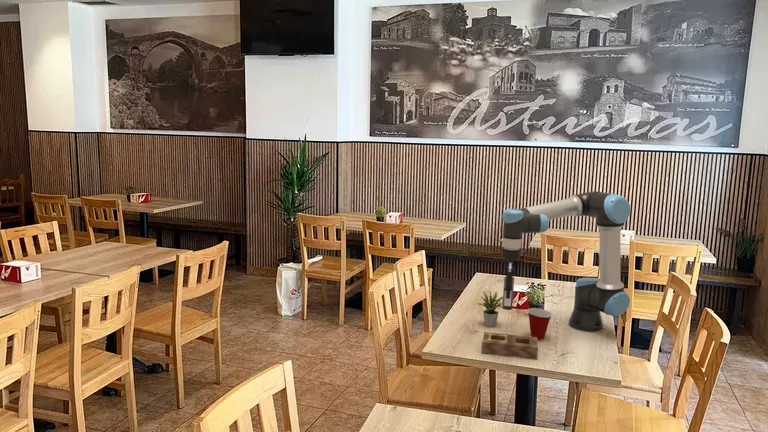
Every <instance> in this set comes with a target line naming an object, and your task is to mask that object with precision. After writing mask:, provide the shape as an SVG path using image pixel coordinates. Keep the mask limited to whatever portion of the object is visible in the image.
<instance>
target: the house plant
mask: <svg viewBox="0 0 768 432" xmlns="http://www.w3.org/2000/svg"><path fill="white" fill-rule="evenodd" d="M498 294H499V292H497V291H495V292H494V295H493V296H492V293H491V291H489V295H488V294H486V292H485V291H483V295H484V297H483V296H482V295H480V297H481V299H482V300H483V301H484V302H483V303H478V304H477V305H480V306H483V307H485V310H483V311H482V314H483V315H482V316H483V323H484V326H485V327H488V328H493V327H496V326H497V321H498V315H499V311H497V310H499V309H500V308H501V309H503V308H502V302H501V300H503V295H502V296H501V297H499V298H498V299H497V297H498ZM499 302H500V303H499Z"/></svg>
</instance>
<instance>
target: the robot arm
mask: <svg viewBox="0 0 768 432" xmlns="http://www.w3.org/2000/svg"><path fill="white" fill-rule="evenodd" d="M501 216H502V219H501V220H502V222H503V224H502V225H503V226H502V229H503V230H502V239H500V242H502V243H501V254H500V256H501V257H502V258H503V259H507V260H505V264H504V267H505V271H504V273H505V274H506V275H505V276H506V288H505V289H504V288H503V289H504V290H505V297H504V306H511V295H512V278H513V277H514V276H513V275H514V274H515V268H516V262H515V261H514V260H519V259H520V258H521V251H522V250H521V249H522V240H523V238H522V237H523V234H540V233H545V232H547V230H548V229H549V226H550V225H549V224H550V221H552V220H556V219H561V218H567V217H571V216H573V217H576V218H577V217H581V216H582V217H591V218H594V219H595V226H596V227H597V228H598V229H599V233H598V234H599V236H598V237H599V239H598V240H599V277H598V278H597V277H581V278H578V279H576V281H575V282H576V283H575V288H574V306H573V310H572V312H571V315H570V317H569V319H568V326H569V327H570V328H572V329H575V330H578V331H582V332H589V333H590V332H591V333H593V332H600V331H602V330H603V327H604V322H603V318H602V315H601V313H604V314H605V315H608V316H610V317H619V316H620V317H621V316H622V315H623V314H624V313H626V312H627V310H628V308H629V307H630V303H631V299H630V295H628V293H627V292H626V291H625V285H624V283H623V282H622V281H621V233H622V232H621V229H622V228H623V227H624V226H625V223H626V222H627V221H628V219H629V217H630V216H631V205H630V202H629V201H628V199H626V197H624V196H622V195H619V194H616V193H609V192H608V193H607V192H602V191H588V192H582V193H578V194H574V195H571V196H569V197H568V198H565V199H560V200H555V201H551V202H546V203H541V204H536V205H531V206H527V207H521V208H506V209H505V210H504V211H503V213H502V215H501Z"/></svg>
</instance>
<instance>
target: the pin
mask: <svg viewBox="0 0 768 432" xmlns="http://www.w3.org/2000/svg"><path fill="white" fill-rule="evenodd" d="M514 287H515V277H514V276H513V278H512V295H511V306H504V297H505V290H504V289H505V288H506V275H505V276H504V277H503V290H502V291H503V292H502V296H503V298H502V302H501V307H502V308H501V309H503V310H504V311H505V310H506V311H511V310H513V301H514Z"/></svg>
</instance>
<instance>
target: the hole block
mask: <svg viewBox="0 0 768 432" xmlns="http://www.w3.org/2000/svg"><path fill="white" fill-rule="evenodd" d="M538 343H539V342H538V339H537V337H531V336H525V335H518V334H508V333H499V332H489V331H484V332H483V336H482V341H481V354H483V355H484V354H485V355H492V356H493V355H494V356H501V357H502V356H503V357H510V358H518V359H519V358H520V359H528V360H538V353H539V350H538V349H539V344H538Z"/></svg>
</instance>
